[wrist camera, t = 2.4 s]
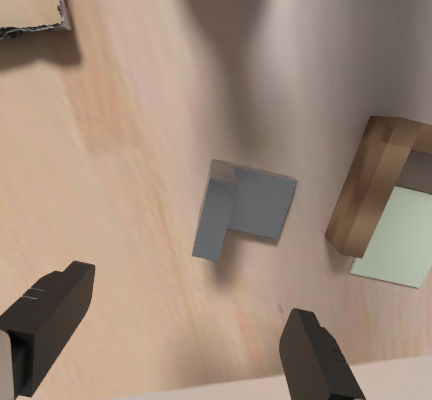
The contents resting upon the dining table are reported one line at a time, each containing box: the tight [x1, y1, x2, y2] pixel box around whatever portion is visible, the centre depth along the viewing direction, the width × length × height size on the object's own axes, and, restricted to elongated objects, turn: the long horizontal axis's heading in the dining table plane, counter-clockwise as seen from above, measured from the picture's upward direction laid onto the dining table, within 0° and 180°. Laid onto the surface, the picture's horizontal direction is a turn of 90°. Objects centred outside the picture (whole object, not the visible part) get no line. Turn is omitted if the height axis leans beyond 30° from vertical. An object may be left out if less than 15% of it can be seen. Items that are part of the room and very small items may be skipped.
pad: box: [349, 186, 432, 288], centre depth 28 cm, size 10×8×1 cm
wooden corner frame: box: [325, 116, 432, 259], centre depth 25 cm, size 12×14×4 cm
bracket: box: [192, 159, 297, 261], centre depth 24 cm, size 8×6×8 cm
